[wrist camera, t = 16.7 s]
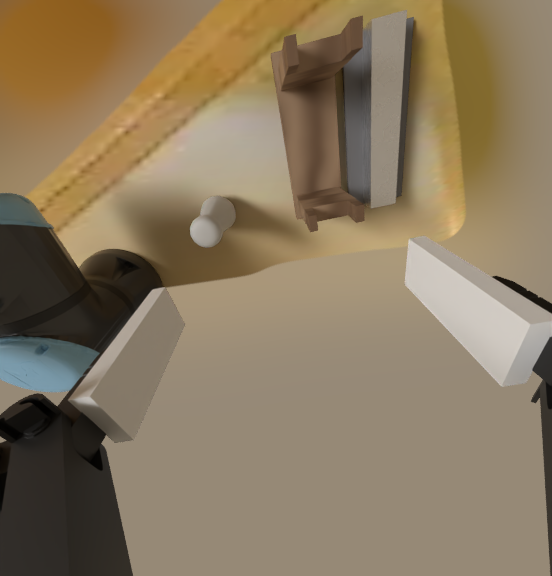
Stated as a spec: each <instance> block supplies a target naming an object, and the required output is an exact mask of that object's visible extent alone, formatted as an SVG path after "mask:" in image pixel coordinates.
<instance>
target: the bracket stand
mask: <svg viewBox="0 0 552 576" xmlns="http://www.w3.org/2000/svg"><path fill="white" fill-rule="evenodd" d="M362 48H363V16H360V17H356V18H352V19H350V21H349V22H348V24H347V25H346V27H345V28H344V29H343V31H342V32H341V34H339V35H335V36H331V37H327V38H324V39H320V40H316V41H313V42H309V43H305V44H302V45H298V46H297V41H296V34H294V35H290V36H287V37H284V43H283V49H282V50H281V51H278V52H274V53H271V61H272V67H273V73H274V79H275V86H276V92H277V98H278V105H279V111H280V117H281V124H282V130H283V136H284V143H285V149H286V155H287V161H288V168H289V174H290V180H291V187H292V193H293V199H294V206H295V212H296V218H297V219H302V218H303V219H304V221H305V223H306V224H307V226H308V228H309V230H310V232H313V231H318V225H317V222H318V221H322V220H327V219H332V218H337V217H341V216H346V215H349V216H350V217H351V218H352V219H353V220H354V221H355V222H356V223H357V222H362V221H364V204H362V203H361V202H360V201H358V200H357V199H356V198H355V197H353V196H352V195H350V194H349V193H347V192H346V191H344V190H343V189H341V177H340V159H339V141H338V123H337V105H336V88H335V74H336V73H337V72H338V71H339V70H340V69H341V68H342V67H343V66H345V65H346V64H347V63H348V62H349V61H350V60H351V59H352V57H353V56H354V55H355V54H356V53H357V52H358V51H360V50H361V49H362Z"/></svg>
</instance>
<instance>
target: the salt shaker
mask: <svg viewBox="0 0 552 576" xmlns="http://www.w3.org/2000/svg"><path fill="white" fill-rule="evenodd" d="M235 220H236V211H235V209H234V206H233V204H232V203H231V202H230V201H229V200H228V199H227V198H224V197H221V196H213V197H210V198H208V199H207V200H206V201H204V203H203V205H202V208H201V213H200V216H199V217H197V218H196V219H194V220H193V222H192V224H191V227H190V235H191V237H192V239H193V241H194V242H195V243H197V244H198V245H199V246H202V247H206V248H208V247H213V246H215V245H216V244H218V243H219V242H220V240H221V238H222V236H223V232H224V231H225V230H227V229H228V228H230V227H231V226H232V225H233V223H234V221H235Z"/></svg>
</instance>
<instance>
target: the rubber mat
mask: <svg viewBox="0 0 552 576" xmlns="http://www.w3.org/2000/svg"><path fill="white" fill-rule="evenodd" d="M413 20H414V17H412V18H408V19H406V34H405V51H404V68H403V86H402V103H401V120H400V137H399V154H398V171H397V188H396V197H398V196H401V193H402V179H403V164H404V150H405V135H406V121H407V107H408V92H409V78H410V64H411V49H412V35H413ZM343 88H344V111H345V135H346V158H347V182H348V193H349V194H350V195H352V196H353V197H355V198H356V199H357V200H358V201H360V202H361V203H362V204H364V202H363V104H362V49H361V50H360V51H358V52H357V53H356V54H355V55H354V56H353V57H352V59H351V60H350V61H349V62H348V63H347V64H346V65H345V66H343Z"/></svg>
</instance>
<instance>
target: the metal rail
mask: <svg viewBox="0 0 552 576" xmlns="http://www.w3.org/2000/svg"><path fill="white" fill-rule="evenodd" d="M406 17H407V10H404V11H401V12H397V13H393V14H390V15H386V16H382V17H379V18H375V19H372V20H371V21H370V22H369V23H368V24H367V25H366V27H365V28H364V29H363V48H362V104H363V202H364V204H365V205H366V206H368V207H369V208H371V209H372V208H376V207H381V206H386V205H391V204H395V203H396V188H397V171H398V154H399V137H400V120H401V103H402V86H403V68H404V51H405V34H406Z"/></svg>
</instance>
